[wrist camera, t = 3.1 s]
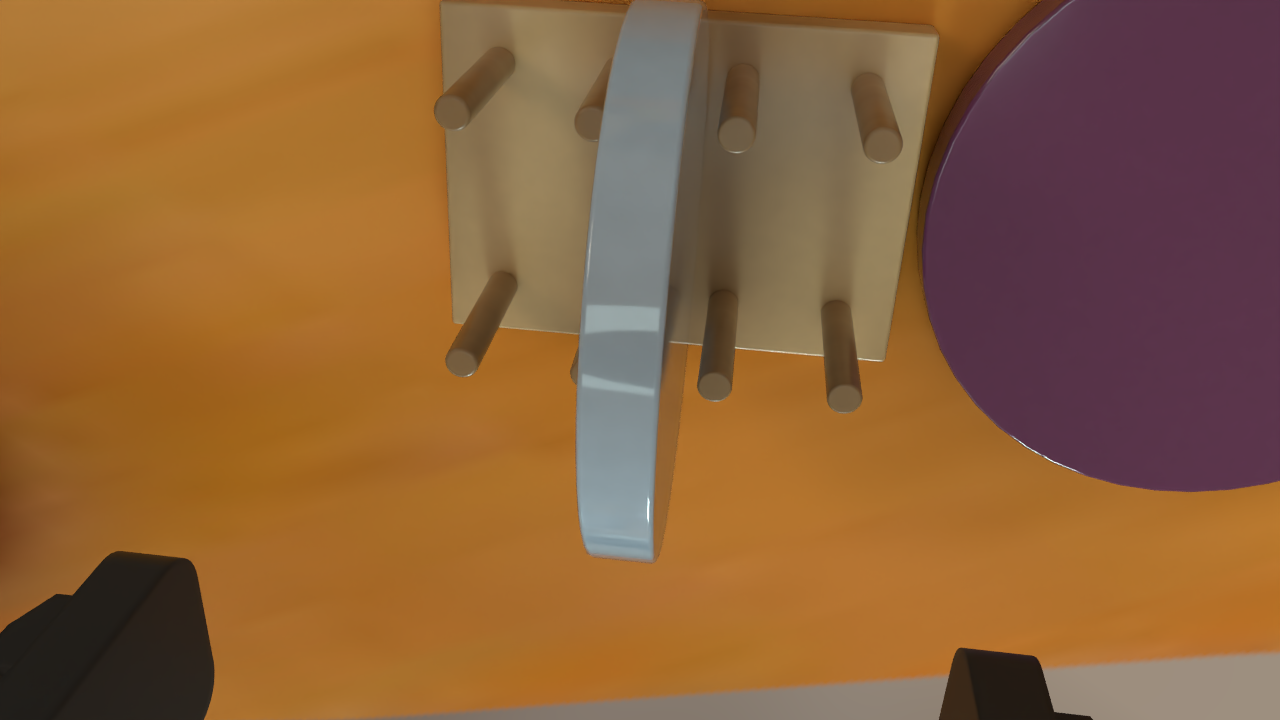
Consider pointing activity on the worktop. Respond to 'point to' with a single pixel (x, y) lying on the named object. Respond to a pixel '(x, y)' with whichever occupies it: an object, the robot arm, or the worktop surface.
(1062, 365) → the plum plate
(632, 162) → the plate
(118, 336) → the worktop surface
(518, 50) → the dish rack
